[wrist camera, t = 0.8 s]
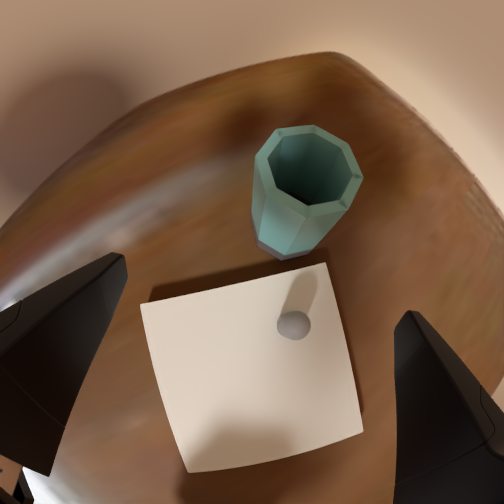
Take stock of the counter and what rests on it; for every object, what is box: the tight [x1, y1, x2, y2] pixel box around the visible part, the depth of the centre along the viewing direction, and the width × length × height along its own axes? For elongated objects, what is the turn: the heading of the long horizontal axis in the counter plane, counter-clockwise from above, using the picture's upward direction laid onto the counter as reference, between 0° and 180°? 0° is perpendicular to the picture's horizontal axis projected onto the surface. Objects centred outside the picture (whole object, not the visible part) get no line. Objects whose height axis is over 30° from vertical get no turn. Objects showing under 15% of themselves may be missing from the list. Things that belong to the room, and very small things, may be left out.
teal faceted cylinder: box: [251, 125, 364, 261], centre depth 19 cm, size 6×6×10 cm
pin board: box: [140, 262, 363, 473], centre depth 18 cm, size 15×15×5 cm
